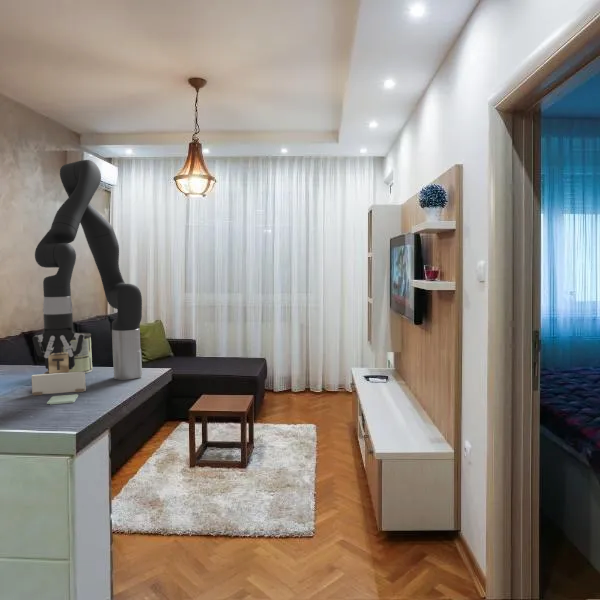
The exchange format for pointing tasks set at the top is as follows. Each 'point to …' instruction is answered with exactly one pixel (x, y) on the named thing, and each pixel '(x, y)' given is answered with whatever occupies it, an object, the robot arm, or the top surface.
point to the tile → (63, 399)
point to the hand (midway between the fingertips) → (60, 369)
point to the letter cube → (58, 363)
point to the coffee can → (82, 355)
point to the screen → (58, 383)
